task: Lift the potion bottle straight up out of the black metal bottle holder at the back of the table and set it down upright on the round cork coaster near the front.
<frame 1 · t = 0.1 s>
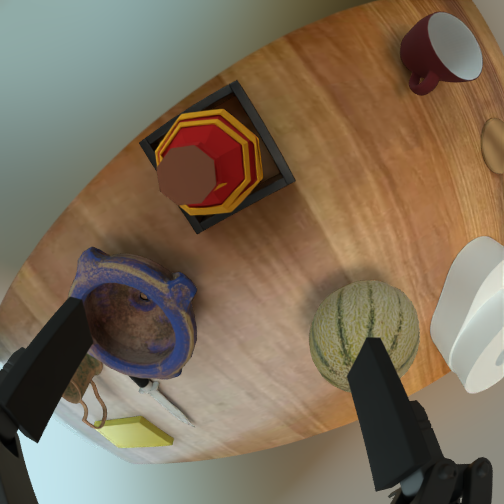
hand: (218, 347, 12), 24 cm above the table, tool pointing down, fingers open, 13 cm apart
knife: (160, 391, 49), on the table
yellow flat block: (129, 430, 59), on the table
mug 2: (89, 364, 47), on the table
cantaloupe: (350, 304, 39), on the table
bowl: (147, 291, 39), on the table
white stepped block: (471, 297, 39), on the table
potion bottle: (218, 156, 31), resting in holder
holder: (218, 156, 31), on the table
mug: (410, 66, 25), on the table
coaster: (497, 145, 27), on the table
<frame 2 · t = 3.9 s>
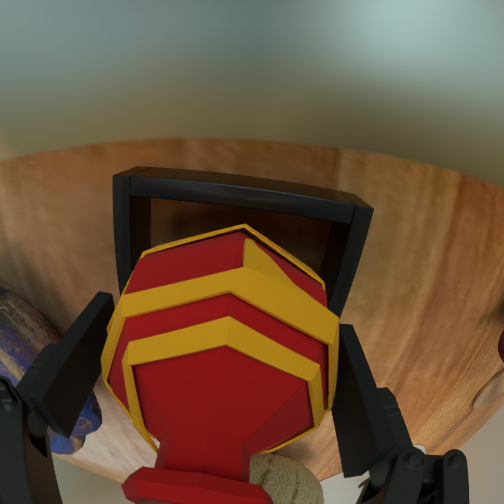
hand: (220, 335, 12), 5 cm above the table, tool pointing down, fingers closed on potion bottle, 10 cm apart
cantaloupe: (260, 456, 29), on the table
bowl: (40, 335, 21), on the table
white stepped block: (368, 474, 35), on the table
potion bottle: (233, 275, 17), resting in holder, touching gripper
holder: (232, 277, 17), on the table
coaster: (494, 386, 25), on the table
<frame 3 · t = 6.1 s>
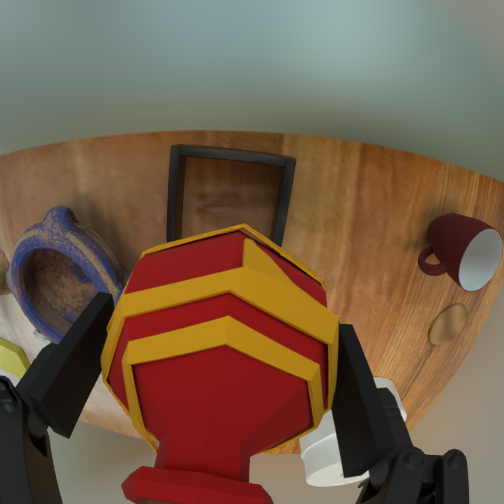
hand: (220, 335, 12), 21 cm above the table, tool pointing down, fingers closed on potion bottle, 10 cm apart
knife: (50, 341, 43), on the table
yellow flat block: (3, 351, 47), on the table
mug 2: (0, 281, 37), on the table
bowl: (90, 264, 35), on the table
white stepped block: (348, 413, 49), on the table
potion bottle: (233, 275, 18), point 15 cm above the table, touching gripper
holder: (228, 203, 31), on the table
mug: (432, 234, 33), on the table
coaster: (447, 324, 39), on the table
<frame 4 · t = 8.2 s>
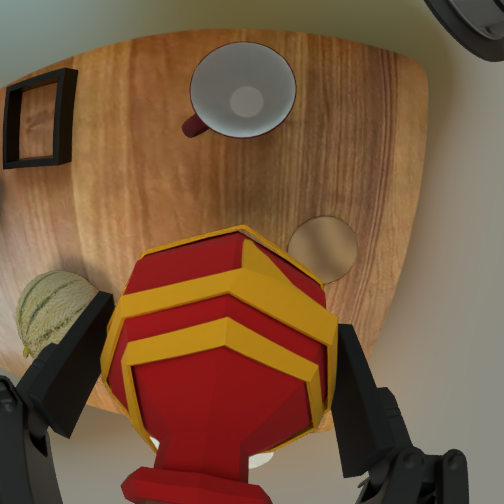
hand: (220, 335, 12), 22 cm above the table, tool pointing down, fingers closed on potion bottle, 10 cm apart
cantaloupe: (85, 294, 38), on the table
potion bottle: (232, 276, 18), point 16 cm above the table, touching gripper
holder: (41, 120, 26), on the table
mug: (238, 108, 27), on the table
coaster: (322, 250, 34), on the table
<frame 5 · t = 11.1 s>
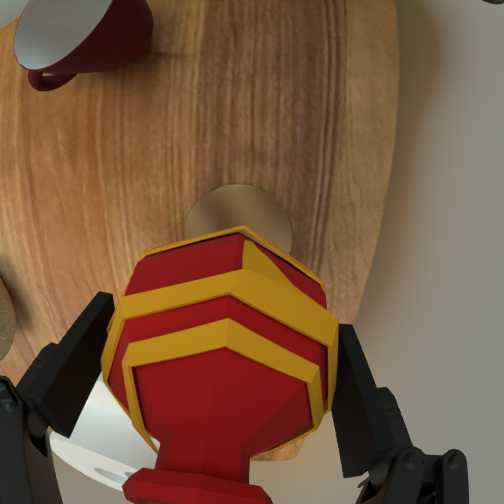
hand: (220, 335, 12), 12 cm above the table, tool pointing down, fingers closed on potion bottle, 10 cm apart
cantaloupe: (1, 286, 27), on the table
white stepped block: (140, 392, 34), on the table
potion bottle: (233, 276, 18), point 6 cm above the table, touching gripper
mug: (119, 52, 17), on the table
coaster: (237, 236, 23), on the table
when the fingers open (6 cm above the table, at t = 13.1 s): potion bottle stays where it is, resting on coaster.
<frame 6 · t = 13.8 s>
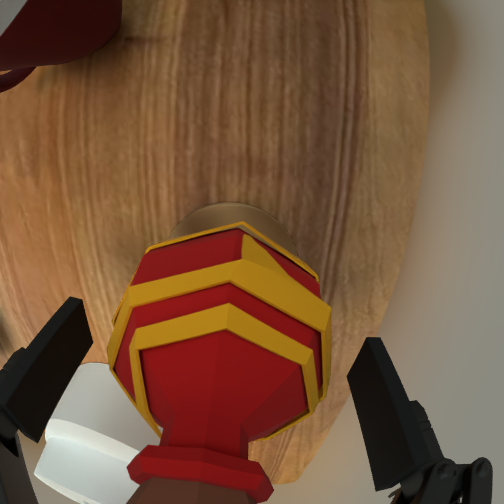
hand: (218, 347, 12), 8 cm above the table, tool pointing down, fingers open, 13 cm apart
white stepped block: (129, 421, 29), on the table
potion bottle: (232, 272, 18), resting on coaster
mug: (85, 41, 12), on the table
coaster: (230, 268, 19), on the table
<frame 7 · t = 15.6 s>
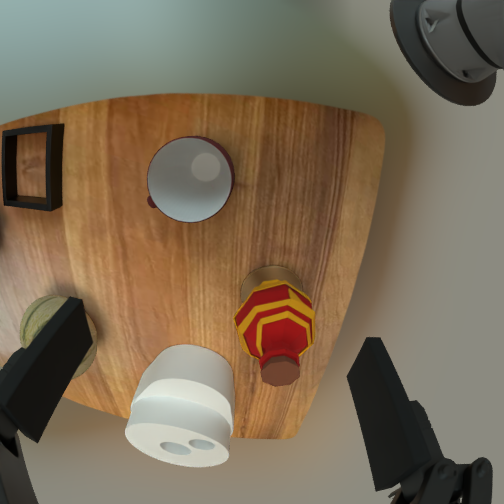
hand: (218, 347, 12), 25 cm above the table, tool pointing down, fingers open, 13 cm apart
cantaloupe: (76, 313, 43), on the table
white stepped block: (189, 386, 50), on the table
potion bottle: (273, 295, 40), resting on coaster
holder: (35, 165, 32), on the table
mug: (198, 172, 33), on the table
coaster: (271, 292, 40), on the table
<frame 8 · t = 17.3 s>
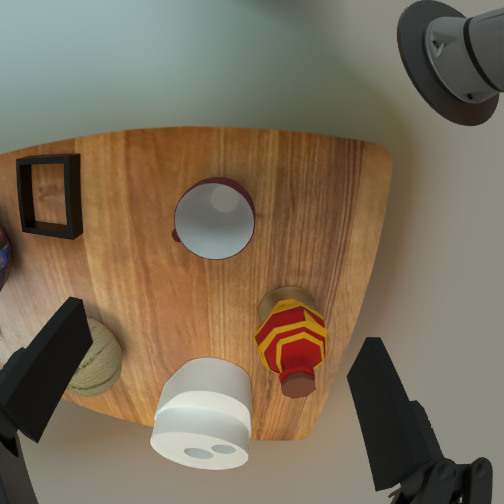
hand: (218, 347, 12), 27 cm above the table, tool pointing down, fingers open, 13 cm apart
cantaloupe: (99, 331, 47), on the table
white stepped block: (208, 394, 53), on the table
potion bottle: (288, 312, 43), resting on coaster
holder: (52, 192, 35), on the table
mug: (217, 203, 36), on the table
coaster: (287, 310, 43), on the table
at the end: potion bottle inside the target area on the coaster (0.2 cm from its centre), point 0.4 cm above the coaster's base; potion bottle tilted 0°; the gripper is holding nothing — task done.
